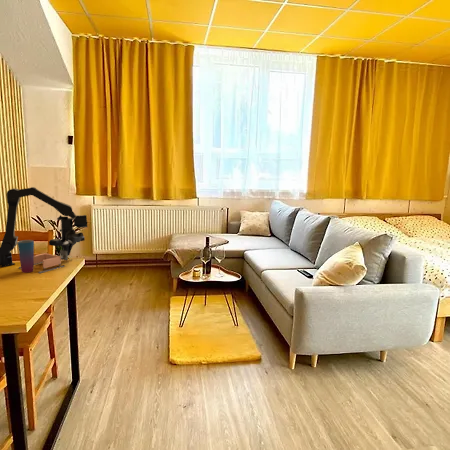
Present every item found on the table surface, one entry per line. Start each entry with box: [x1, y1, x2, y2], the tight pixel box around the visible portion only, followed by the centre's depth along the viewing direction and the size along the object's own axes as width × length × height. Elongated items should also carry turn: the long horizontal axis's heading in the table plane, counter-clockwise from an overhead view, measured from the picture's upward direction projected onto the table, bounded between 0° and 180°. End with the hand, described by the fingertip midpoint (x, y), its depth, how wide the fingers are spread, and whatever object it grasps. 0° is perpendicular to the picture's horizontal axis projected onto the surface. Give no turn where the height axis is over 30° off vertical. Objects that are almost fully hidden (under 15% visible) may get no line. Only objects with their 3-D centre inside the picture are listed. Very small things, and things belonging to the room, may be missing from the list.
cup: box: [17, 239, 35, 274], centre depth 162 cm, size 7×7×15 cm
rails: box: [18, 262, 66, 274], centre depth 170 cm, size 16×14×1 cm
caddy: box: [34, 249, 69, 271], centre depth 174 cm, size 17×12×6 cm
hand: (68, 255), depth 184 cm, fingers closed
